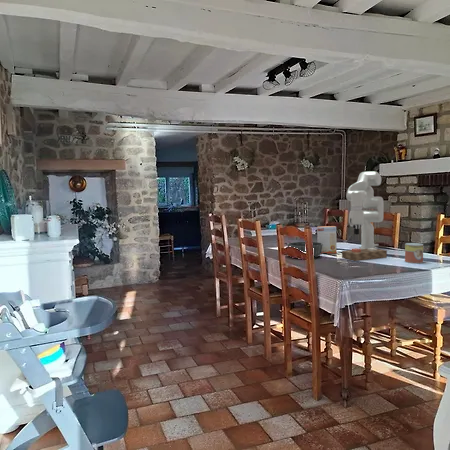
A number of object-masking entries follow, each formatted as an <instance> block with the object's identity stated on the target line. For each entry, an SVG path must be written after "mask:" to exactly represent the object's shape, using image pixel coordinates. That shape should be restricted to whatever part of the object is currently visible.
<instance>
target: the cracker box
mask: <svg viewBox="0 0 450 450" xmlns="http://www.w3.org/2000/svg"><path fill="white" fill-rule="evenodd" d="M316 231H317V232H316V234H317V235H316V237H317V238H316V239H317V241H316V242H319V243H322V244H323V245H322V252H321V254H320V255H323V254H322V253H327V254H337V250H338V249H337V247H338V246H337V226H335V225H331V226H330V225H328V226H325V225H324V226H322V225H321V226H317V227H316Z"/></svg>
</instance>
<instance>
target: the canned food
mask: <svg viewBox="0 0 450 450" xmlns="http://www.w3.org/2000/svg"><path fill="white" fill-rule="evenodd" d="M404 262H405V263H408V264H409V263H410V264H422V263H424V243H419V242H418V243H417V242H406V243H404Z"/></svg>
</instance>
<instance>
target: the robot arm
mask: <svg viewBox="0 0 450 450" xmlns="http://www.w3.org/2000/svg"><path fill="white" fill-rule="evenodd" d="M381 183H382V176H381V175H380V173H379V172H377V171H373V170H372V171H362V172H360V173H359V175H358V178H357V181H356V182H354V183H352V184H351V185H350V186H349V187H348V188H347V190H346V194H345V195H346V196H345V197H346V200H348V201H349V202H350V211H349V214H348V225H349V227H352V229H353V233H354V234H353V235H360V230H361V236H360V237H361V239H360V240H361V241H360V242H361V245H360V247H358V249H368V248H375V249H377V248H376V247H379V243H375V241H374V240H375V236H374V235H375V228H374V225H373V224H372V223H381V222H383V221H384V212H385V211H384V210H385V209H384V206H385V205H384V204H385V203H384V199H383V197H382V196H374V193H375V192H374V189H373V187H375V186H376V187H377V186H380V185H381ZM372 186H373V187H372ZM363 209H366V210H363ZM375 209H376V210H375ZM360 228H361V229H360Z"/></svg>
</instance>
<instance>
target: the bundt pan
mask: <svg viewBox="0 0 450 450" xmlns="http://www.w3.org/2000/svg"><path fill="white" fill-rule="evenodd" d="M305 242H306V241H293V242H287V243H286V245H287V248H288V247H289V246H291V247H295V248H298V249H299V250H301V251H303V252H306V251H305ZM312 242H313V248H314V256H315V257H314V258H317V257H319V256H320V255H322V254H321V252H322V245H323V244H322V243H319V242H317V241H312Z"/></svg>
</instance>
